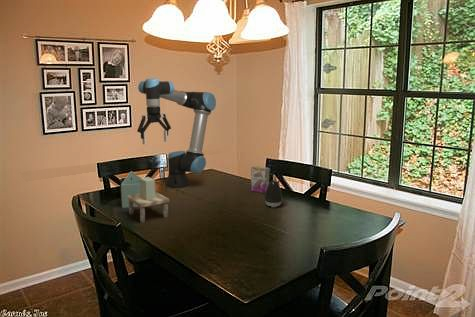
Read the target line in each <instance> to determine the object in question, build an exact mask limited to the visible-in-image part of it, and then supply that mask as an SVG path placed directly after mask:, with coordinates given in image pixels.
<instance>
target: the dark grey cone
mask: <svg viewBox="0 0 475 317" xmlns="http://www.w3.org/2000/svg"><path fill="white" fill-rule="evenodd" d="M280 182H281V180H270V181H269V184H268V187H267V189H266V193H265V194H264V202H265V205H266V206H268V207H269V206H271V207H270V208H277V206H278V207H279V206H280V205H281V204H282V201H283V194H282V189H281V185H280Z"/></svg>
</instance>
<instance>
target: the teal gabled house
mask: <svg viewBox="0 0 475 317" xmlns="http://www.w3.org/2000/svg"><path fill="white" fill-rule="evenodd" d="M131 177H132V180H131ZM124 178H125V177H124ZM140 178H141V177H140V176H139V175H138V174H136V173H135V172H133V171H132V170H131V171H130V172H129V173H128V174H127V175H126V178H125V180H124V181H123V182H122V184H121V189H120V199H121V198H122V199H121V208H122V209H124V208H125V209H126V208H129V200H128V199H127V196H129V195H134V194H140ZM137 207H139V206H138V205H136V204H135V203H133V208H137ZM139 208H140V207H139Z"/></svg>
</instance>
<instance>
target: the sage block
mask: <svg viewBox="0 0 475 317" xmlns="http://www.w3.org/2000/svg"><path fill="white" fill-rule="evenodd" d="M155 192H156V179H154V178H151V177H150V176H145V177H140V196H141V197H142V198H144V199H146V200H150V199H155Z"/></svg>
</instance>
